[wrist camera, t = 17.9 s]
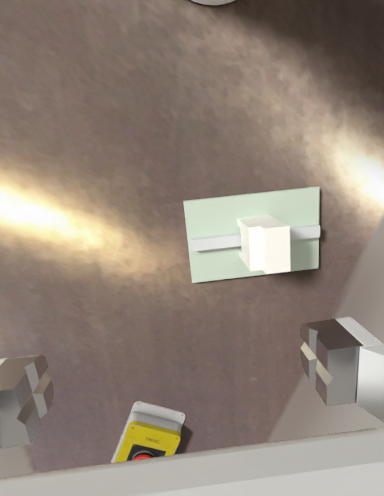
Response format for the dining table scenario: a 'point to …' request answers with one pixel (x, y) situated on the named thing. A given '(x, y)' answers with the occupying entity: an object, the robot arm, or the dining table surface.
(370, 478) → the robot arm
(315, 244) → the rail board
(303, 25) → the dining table surface
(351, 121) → the dining table surface
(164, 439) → the emergency button
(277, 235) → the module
